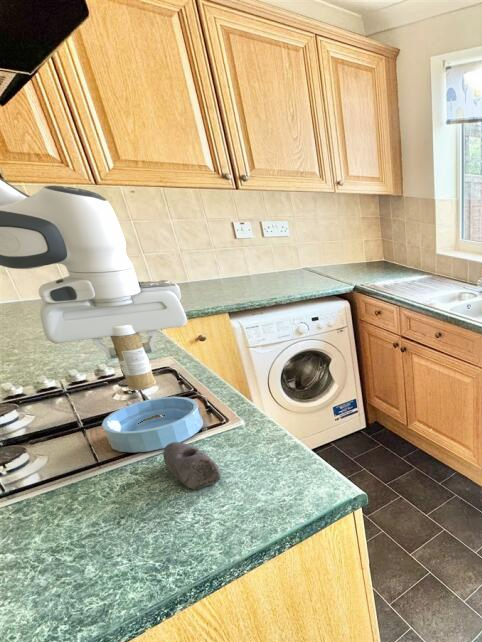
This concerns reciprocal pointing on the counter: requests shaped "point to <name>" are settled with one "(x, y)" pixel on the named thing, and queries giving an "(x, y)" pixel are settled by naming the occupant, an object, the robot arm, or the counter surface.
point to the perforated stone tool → (191, 465)
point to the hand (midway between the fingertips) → (131, 355)
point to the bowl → (152, 424)
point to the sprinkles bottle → (132, 358)
